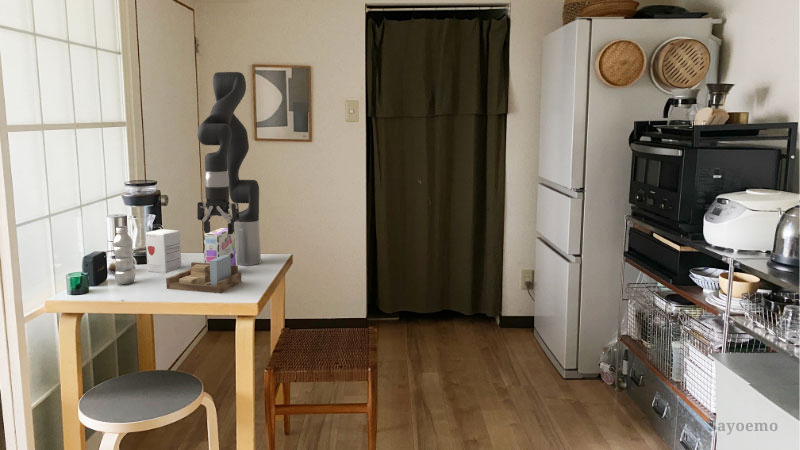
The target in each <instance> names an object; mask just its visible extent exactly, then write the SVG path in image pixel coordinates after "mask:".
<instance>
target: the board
mask: <svg viewBox="0 0 800 450" xmlns="http://www.w3.org/2000/svg"><path fill="white" fill-rule="evenodd" d="M229 276H231V258H230V255H223V256H220V257H217V258H215V259H212V260H210V280H211V285H212V286H217V282H219V281H221V280H223V279H225V278H227V277H229Z"/></svg>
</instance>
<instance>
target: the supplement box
mask: <svg viewBox="0 0 800 450" xmlns="http://www.w3.org/2000/svg"><path fill="white" fill-rule="evenodd" d="M145 247H146V265H147V266H146V267H147V272H151V273H153V272H154V273H158V274H159V273H160V274H168V273H170V272H173V271H175V270H178V269H181V268H182V255H181V249H182V248H181V231H180V230H175V229H167V228H166V229H165V228H160V229H156V230H151V231H146V232H145Z"/></svg>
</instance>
